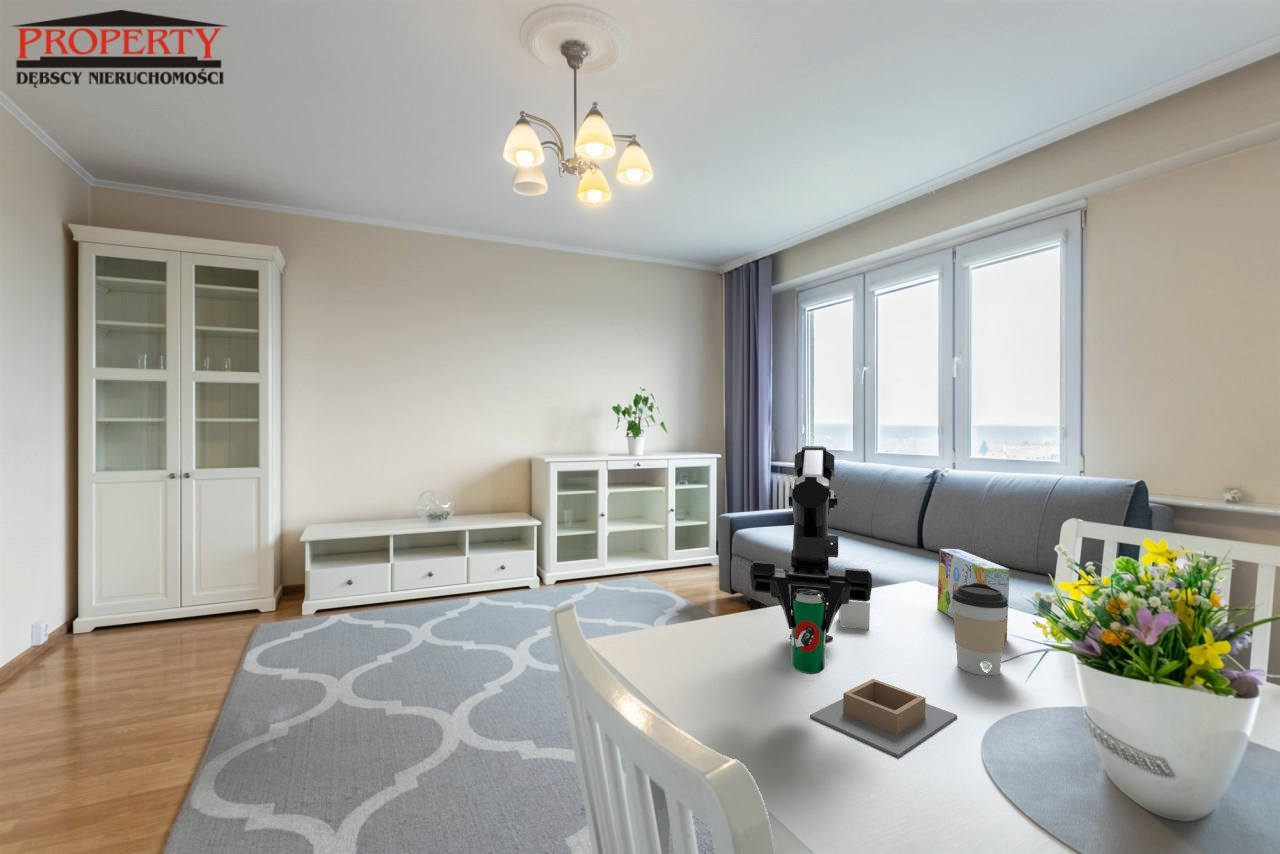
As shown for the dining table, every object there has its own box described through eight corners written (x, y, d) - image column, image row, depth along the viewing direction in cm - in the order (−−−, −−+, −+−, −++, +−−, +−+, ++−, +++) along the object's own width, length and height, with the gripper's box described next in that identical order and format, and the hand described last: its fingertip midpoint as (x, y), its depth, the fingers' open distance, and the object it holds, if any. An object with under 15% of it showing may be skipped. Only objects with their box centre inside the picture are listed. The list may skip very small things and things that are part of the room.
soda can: (831, 673, 92) (832, 595, 92) (802, 677, 91) (803, 598, 91) (812, 660, 97) (814, 586, 97) (784, 664, 96) (786, 588, 96)
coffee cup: (1006, 682, 106) (1007, 597, 106) (948, 670, 110) (950, 589, 110) (1007, 665, 113) (1008, 585, 113) (953, 654, 118) (954, 578, 118)
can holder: (872, 685, 104) (872, 666, 103) (957, 717, 93) (957, 695, 93) (810, 717, 92) (810, 695, 92) (898, 757, 81) (898, 732, 81)
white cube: (838, 618, 140) (838, 592, 140) (865, 621, 138) (866, 594, 138) (840, 627, 134) (841, 600, 134) (869, 629, 132) (869, 602, 132)
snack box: (1010, 640, 127) (1011, 568, 127) (983, 639, 127) (984, 568, 127) (958, 609, 148) (959, 547, 148) (935, 608, 148) (936, 547, 148)
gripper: (752, 512, 100) (743, 597, 90) (872, 519, 95) (877, 610, 84) (756, 549, 108) (748, 632, 97) (867, 557, 102) (871, 645, 92)
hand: (808, 629), depth 93 cm, fingers closed on soda can, 5 cm apart
